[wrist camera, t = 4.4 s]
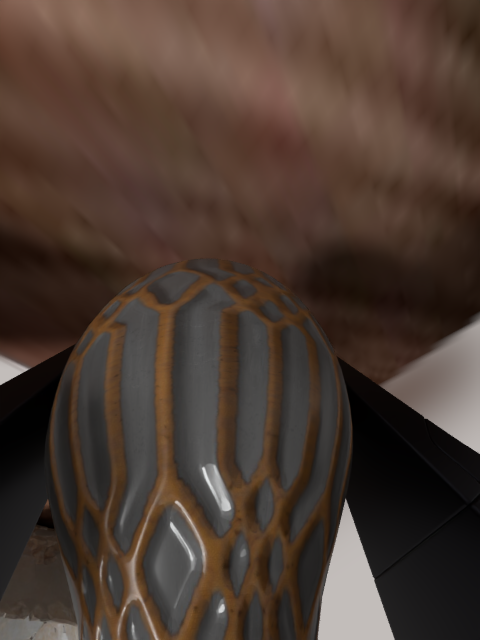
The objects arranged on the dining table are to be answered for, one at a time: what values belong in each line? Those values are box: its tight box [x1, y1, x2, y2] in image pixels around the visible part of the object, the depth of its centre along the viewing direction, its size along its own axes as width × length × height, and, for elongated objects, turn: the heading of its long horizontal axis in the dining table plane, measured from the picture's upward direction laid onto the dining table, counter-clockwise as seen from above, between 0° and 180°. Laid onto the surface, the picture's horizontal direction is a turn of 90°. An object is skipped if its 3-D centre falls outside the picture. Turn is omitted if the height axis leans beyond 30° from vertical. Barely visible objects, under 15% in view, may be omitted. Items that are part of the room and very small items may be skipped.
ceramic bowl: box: [0, 525, 79, 640], centre depth 32 cm, size 22×23×10 cm
